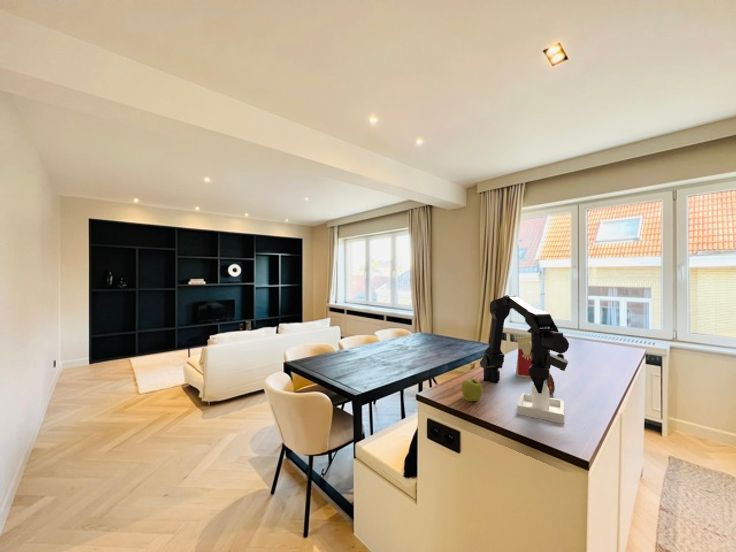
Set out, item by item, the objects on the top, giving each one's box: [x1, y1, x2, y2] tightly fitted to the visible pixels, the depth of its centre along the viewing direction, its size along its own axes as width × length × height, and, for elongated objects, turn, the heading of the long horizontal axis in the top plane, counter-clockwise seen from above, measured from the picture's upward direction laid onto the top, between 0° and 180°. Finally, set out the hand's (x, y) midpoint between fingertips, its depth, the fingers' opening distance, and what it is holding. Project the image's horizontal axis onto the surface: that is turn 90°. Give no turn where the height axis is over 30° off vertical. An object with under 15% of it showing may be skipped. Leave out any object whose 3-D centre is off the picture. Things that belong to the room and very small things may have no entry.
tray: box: [516, 392, 565, 424], centre depth 110 cm, size 14×14×3 cm
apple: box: [461, 375, 483, 402], centre depth 121 cm, size 8×8×10 cm
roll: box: [531, 382, 550, 410], centre depth 111 cm, size 6×12×6 cm
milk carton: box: [515, 335, 533, 379], centre depth 152 cm, size 9×9×20 cm
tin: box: [544, 373, 556, 394], centre depth 131 cm, size 15×3×8 cm, turn 168°
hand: (540, 389), depth 111 cm, fingers open, 9 cm apart
